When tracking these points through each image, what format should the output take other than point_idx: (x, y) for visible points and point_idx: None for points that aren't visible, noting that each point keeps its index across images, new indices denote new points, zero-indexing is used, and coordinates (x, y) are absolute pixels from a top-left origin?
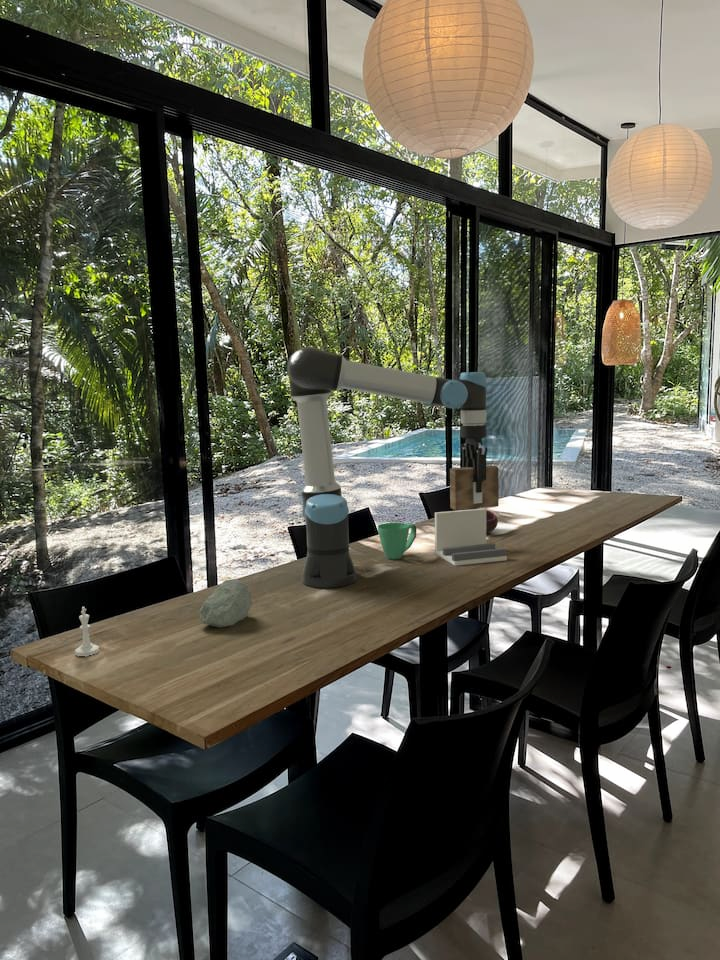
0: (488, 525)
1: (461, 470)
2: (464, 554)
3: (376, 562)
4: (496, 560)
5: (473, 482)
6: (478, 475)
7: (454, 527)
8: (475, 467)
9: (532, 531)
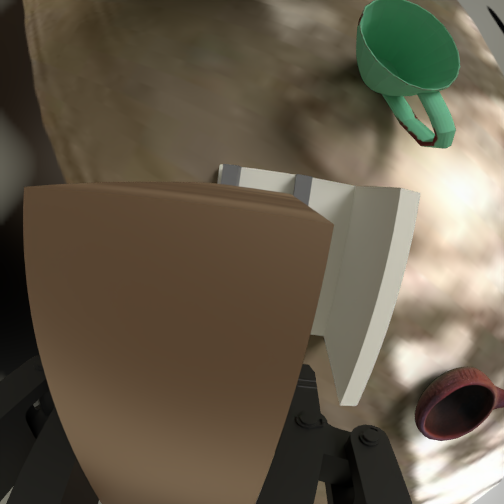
0: (419, 407)
1: (41, 313)
2: None
3: (352, 22)
4: None
5: None
6: (15, 374)
7: (363, 259)
8: (35, 456)
9: None
